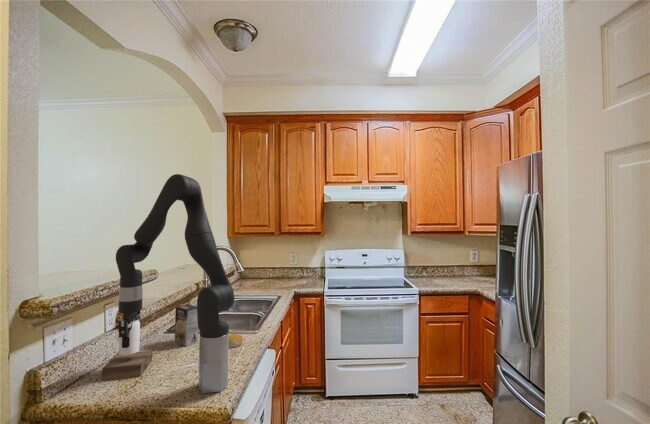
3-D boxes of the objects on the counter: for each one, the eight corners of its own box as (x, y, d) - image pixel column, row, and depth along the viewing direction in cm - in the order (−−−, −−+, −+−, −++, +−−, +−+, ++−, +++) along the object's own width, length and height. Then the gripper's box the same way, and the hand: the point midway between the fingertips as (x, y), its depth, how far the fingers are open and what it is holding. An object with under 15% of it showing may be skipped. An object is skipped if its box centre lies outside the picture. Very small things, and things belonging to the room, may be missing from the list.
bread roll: (243, 340, 144) (244, 331, 144) (241, 347, 135) (241, 338, 135) (225, 340, 143) (225, 332, 143) (221, 348, 134) (221, 339, 134)
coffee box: (173, 342, 140) (174, 306, 141) (186, 338, 146) (187, 303, 146) (186, 346, 135) (186, 309, 136) (198, 342, 141) (199, 306, 141)
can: (135, 347, 118) (136, 316, 119) (142, 352, 114) (143, 319, 115) (115, 353, 113) (116, 320, 114) (122, 358, 109) (123, 323, 110)
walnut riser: (140, 376, 109) (140, 364, 109) (102, 379, 107) (102, 368, 107) (151, 361, 121) (151, 351, 121) (117, 364, 118) (117, 353, 118)
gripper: (134, 302, 109) (133, 351, 108) (148, 293, 123) (147, 336, 122) (110, 303, 107) (108, 352, 106) (127, 294, 121) (126, 337, 120)
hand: (129, 343), depth 114 cm, fingers closed on can, 6 cm apart
